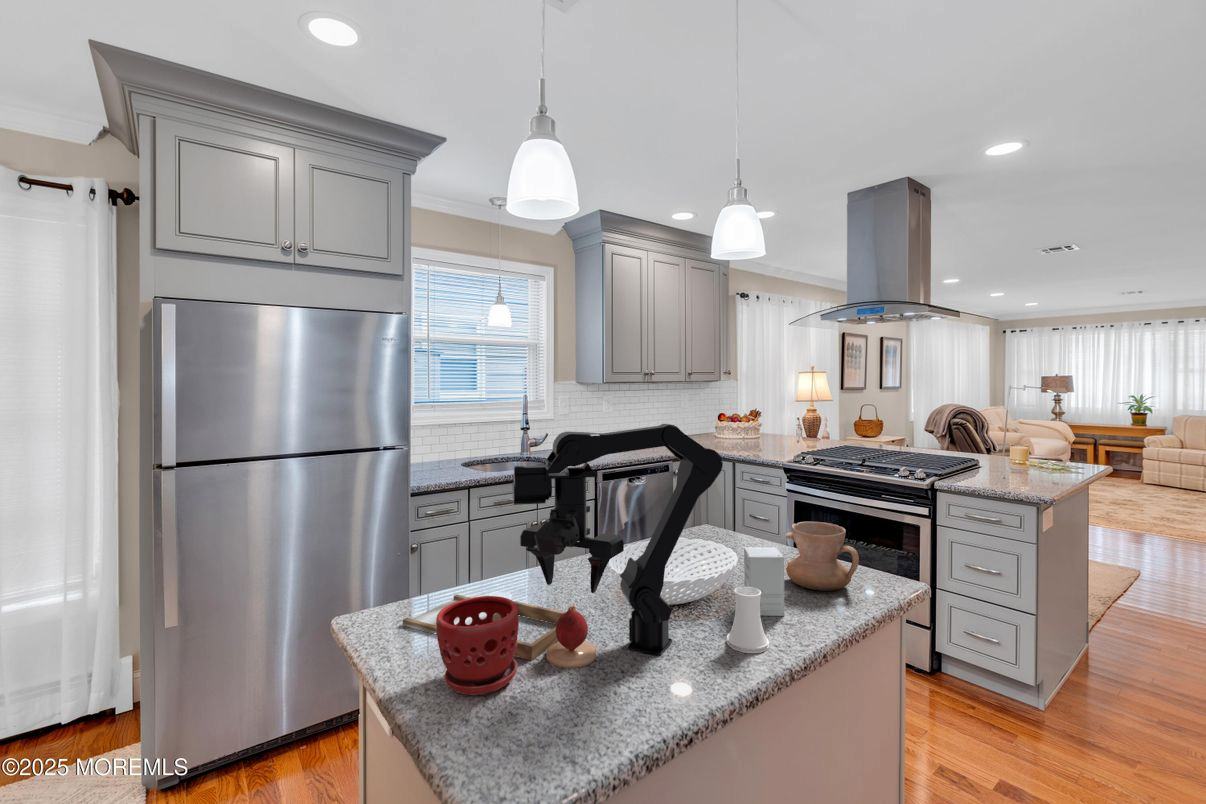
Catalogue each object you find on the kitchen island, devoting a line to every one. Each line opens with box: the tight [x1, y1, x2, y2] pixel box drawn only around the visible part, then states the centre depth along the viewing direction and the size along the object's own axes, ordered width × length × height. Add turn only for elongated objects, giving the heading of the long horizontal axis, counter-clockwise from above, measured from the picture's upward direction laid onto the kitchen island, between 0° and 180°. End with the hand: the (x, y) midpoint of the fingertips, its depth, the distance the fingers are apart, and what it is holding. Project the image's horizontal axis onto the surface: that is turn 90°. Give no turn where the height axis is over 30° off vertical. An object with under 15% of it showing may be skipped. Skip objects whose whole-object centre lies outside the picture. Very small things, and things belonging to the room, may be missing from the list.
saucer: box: [545, 640, 598, 669], centre depth 100 cm, size 9×9×1 cm
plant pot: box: [436, 595, 520, 696], centre depth 92 cm, size 13×13×12 cm
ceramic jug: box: [784, 521, 860, 592], centre depth 135 cm, size 18×14×14 cm
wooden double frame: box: [402, 594, 566, 661], centre depth 113 cm, size 32×16×2 cm, turn 62°
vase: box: [726, 586, 770, 654], centre depth 104 cm, size 8×8×10 cm
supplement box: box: [743, 546, 785, 617], centre depth 121 cm, size 7×7×13 cm
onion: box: [555, 604, 589, 651], centre depth 100 cm, size 6×6×8 cm
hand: (571, 588), depth 101 cm, fingers open, 9 cm apart
